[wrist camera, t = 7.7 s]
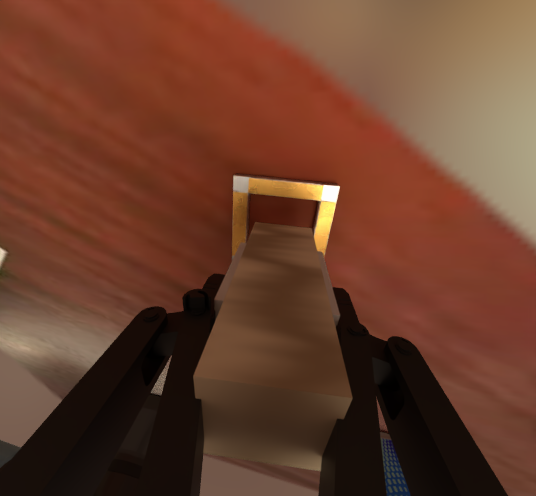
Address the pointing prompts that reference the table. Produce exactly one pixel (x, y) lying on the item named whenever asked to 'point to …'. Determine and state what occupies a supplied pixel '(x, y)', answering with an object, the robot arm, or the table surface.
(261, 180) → the white yellow rectangular frame
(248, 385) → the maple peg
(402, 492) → the beer can
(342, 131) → the table surface
